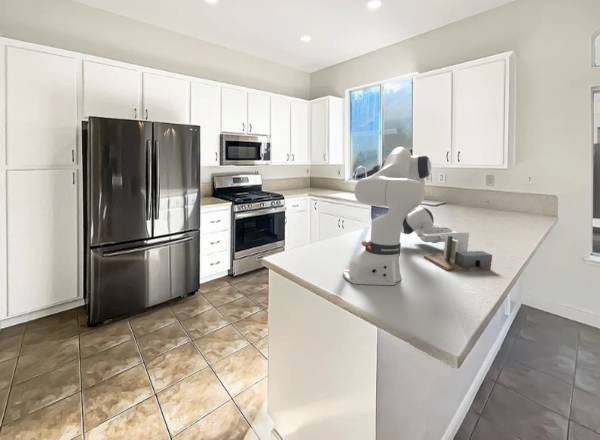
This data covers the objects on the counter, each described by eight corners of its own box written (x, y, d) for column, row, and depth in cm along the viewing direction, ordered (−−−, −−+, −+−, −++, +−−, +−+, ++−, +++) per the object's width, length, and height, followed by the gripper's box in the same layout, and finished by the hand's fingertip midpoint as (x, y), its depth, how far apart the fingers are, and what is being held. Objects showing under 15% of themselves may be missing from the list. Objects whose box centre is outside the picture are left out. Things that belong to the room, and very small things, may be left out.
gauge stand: (447, 271, 133) (450, 245, 131) (423, 257, 152) (425, 234, 150) (490, 269, 136) (493, 244, 134) (462, 256, 155) (464, 234, 153)
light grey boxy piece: (451, 263, 138) (453, 238, 136) (436, 255, 149) (438, 232, 147) (481, 262, 140) (484, 238, 138) (464, 254, 151) (466, 232, 149)
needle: (447, 261, 141) (449, 236, 139) (445, 260, 142) (448, 235, 140) (449, 261, 141) (452, 236, 139) (448, 260, 143) (450, 235, 141)
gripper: (416, 228, 166) (430, 235, 152) (452, 228, 169) (469, 234, 155) (415, 240, 167) (429, 247, 153) (451, 239, 170) (468, 246, 156)
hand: (449, 241), depth 154 cm, fingers closed
